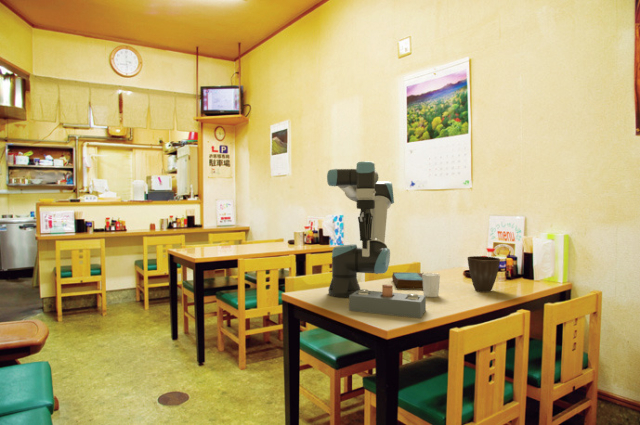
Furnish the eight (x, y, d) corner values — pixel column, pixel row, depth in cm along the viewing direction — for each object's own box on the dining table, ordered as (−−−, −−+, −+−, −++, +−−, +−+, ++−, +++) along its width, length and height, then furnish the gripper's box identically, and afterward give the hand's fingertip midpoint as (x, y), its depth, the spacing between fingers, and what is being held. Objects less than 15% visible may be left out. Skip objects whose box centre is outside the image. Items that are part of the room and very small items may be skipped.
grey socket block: (349, 310, 160) (349, 295, 160) (358, 303, 171) (358, 289, 171) (420, 318, 149) (420, 302, 149) (425, 310, 160) (425, 295, 160)
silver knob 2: (406, 309, 155) (406, 295, 155) (408, 307, 159) (408, 293, 159) (416, 310, 153) (417, 296, 153) (418, 308, 157) (418, 294, 157)
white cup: (440, 298, 182) (440, 276, 182) (422, 297, 183) (422, 275, 183) (439, 294, 189) (439, 273, 189) (421, 293, 191) (421, 272, 191)
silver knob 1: (357, 304, 163) (357, 291, 163) (360, 302, 167) (360, 289, 167) (366, 305, 161) (366, 291, 161) (369, 303, 165) (369, 289, 165)
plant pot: (504, 290, 198) (504, 257, 198) (493, 295, 187) (493, 261, 187) (474, 286, 208) (474, 255, 208) (462, 290, 197) (462, 258, 197)
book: (432, 290, 201) (432, 280, 201) (397, 289, 202) (397, 279, 202) (424, 281, 224) (424, 272, 223) (392, 281, 225) (392, 272, 225)
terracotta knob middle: (381, 299, 159) (381, 286, 159) (383, 297, 163) (383, 284, 163) (391, 300, 157) (391, 286, 157) (393, 298, 161) (393, 285, 161)
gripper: (369, 199, 158) (369, 258, 158) (378, 199, 170) (378, 254, 170) (351, 199, 161) (351, 257, 162) (361, 199, 173) (362, 253, 173)
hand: (365, 256), depth 166 cm, fingers closed
